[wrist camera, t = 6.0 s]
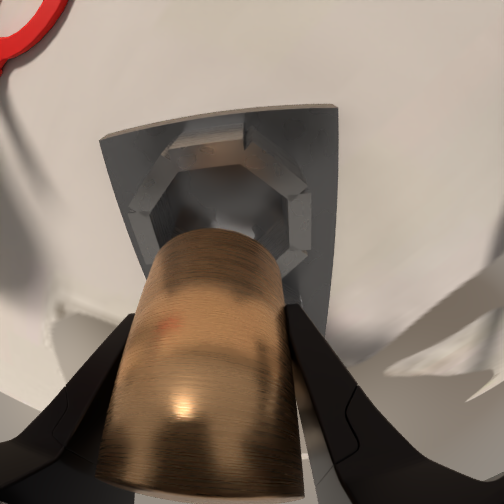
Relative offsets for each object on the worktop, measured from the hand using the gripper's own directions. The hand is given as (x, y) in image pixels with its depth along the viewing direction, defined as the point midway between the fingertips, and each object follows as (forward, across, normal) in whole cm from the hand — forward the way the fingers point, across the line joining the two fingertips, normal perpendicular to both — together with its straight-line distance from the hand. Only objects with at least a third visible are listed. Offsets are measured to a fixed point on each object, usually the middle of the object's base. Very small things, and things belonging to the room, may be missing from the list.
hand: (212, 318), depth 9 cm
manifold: (+9, 0, +4) cm, 10 cm away
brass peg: (+2, 0, 0) cm, 2 cm away
